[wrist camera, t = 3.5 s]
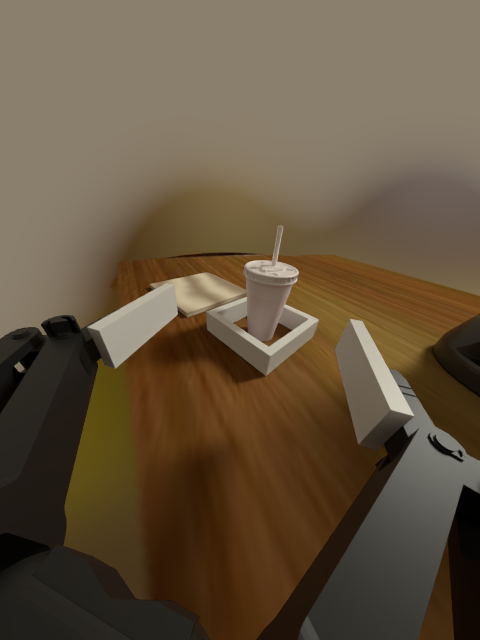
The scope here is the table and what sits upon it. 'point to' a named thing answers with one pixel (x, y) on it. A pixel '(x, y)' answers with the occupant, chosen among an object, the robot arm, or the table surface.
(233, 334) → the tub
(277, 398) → the table surface
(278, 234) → the smoothie
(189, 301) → the board
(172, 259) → the table surface
